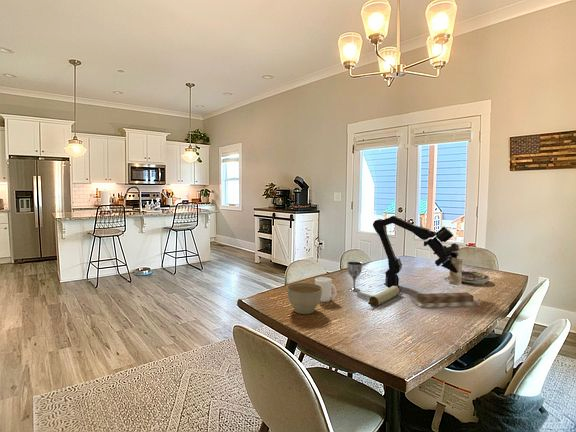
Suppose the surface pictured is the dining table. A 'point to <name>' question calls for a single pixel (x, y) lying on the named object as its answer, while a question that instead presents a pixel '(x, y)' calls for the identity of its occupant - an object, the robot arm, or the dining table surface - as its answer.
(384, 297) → the rolling pin
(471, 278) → the pie
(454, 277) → the ash post
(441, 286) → the dining table surface
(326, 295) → the mug
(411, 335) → the dining table surface
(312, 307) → the planter bowl
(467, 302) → the ridge stand
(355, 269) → the wine glass
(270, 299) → the dining table surface
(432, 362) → the dining table surface
